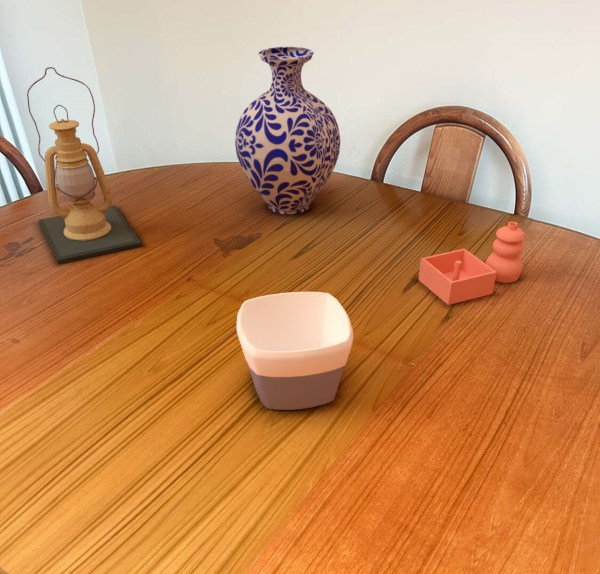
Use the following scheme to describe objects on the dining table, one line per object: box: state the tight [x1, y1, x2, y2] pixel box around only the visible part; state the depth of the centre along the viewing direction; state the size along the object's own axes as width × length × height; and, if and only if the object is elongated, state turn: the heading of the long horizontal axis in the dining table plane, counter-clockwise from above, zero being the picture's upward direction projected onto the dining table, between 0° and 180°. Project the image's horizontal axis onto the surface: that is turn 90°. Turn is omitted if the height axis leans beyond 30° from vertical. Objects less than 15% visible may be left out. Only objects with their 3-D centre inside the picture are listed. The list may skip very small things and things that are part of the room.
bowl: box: [235, 291, 354, 411], centre depth 90 cm, size 15×15×11 cm
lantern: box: [26, 66, 113, 241], centre depth 122 cm, size 12×10×30 cm
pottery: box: [417, 221, 526, 306], centre depth 114 cm, size 18×10×10 cm, turn 114°
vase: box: [234, 46, 341, 215], centre depth 133 cm, size 22×22×30 cm
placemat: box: [38, 204, 143, 265], centre depth 132 cm, size 16×20×1 cm
